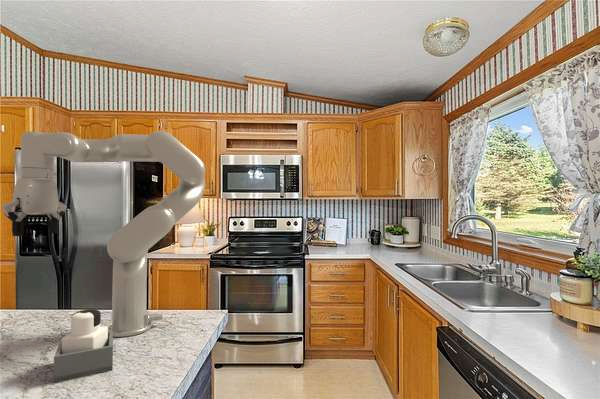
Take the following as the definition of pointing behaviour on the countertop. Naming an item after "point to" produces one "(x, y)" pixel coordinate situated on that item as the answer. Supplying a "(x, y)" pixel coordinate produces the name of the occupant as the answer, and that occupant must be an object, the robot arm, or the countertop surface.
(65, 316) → the countertop surface
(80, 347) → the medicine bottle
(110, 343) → the bin
